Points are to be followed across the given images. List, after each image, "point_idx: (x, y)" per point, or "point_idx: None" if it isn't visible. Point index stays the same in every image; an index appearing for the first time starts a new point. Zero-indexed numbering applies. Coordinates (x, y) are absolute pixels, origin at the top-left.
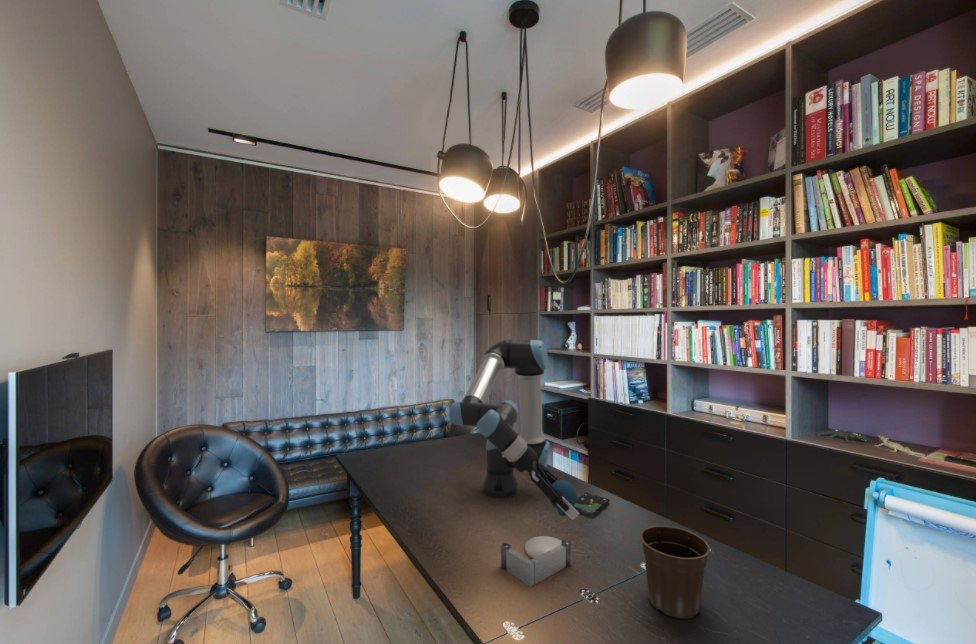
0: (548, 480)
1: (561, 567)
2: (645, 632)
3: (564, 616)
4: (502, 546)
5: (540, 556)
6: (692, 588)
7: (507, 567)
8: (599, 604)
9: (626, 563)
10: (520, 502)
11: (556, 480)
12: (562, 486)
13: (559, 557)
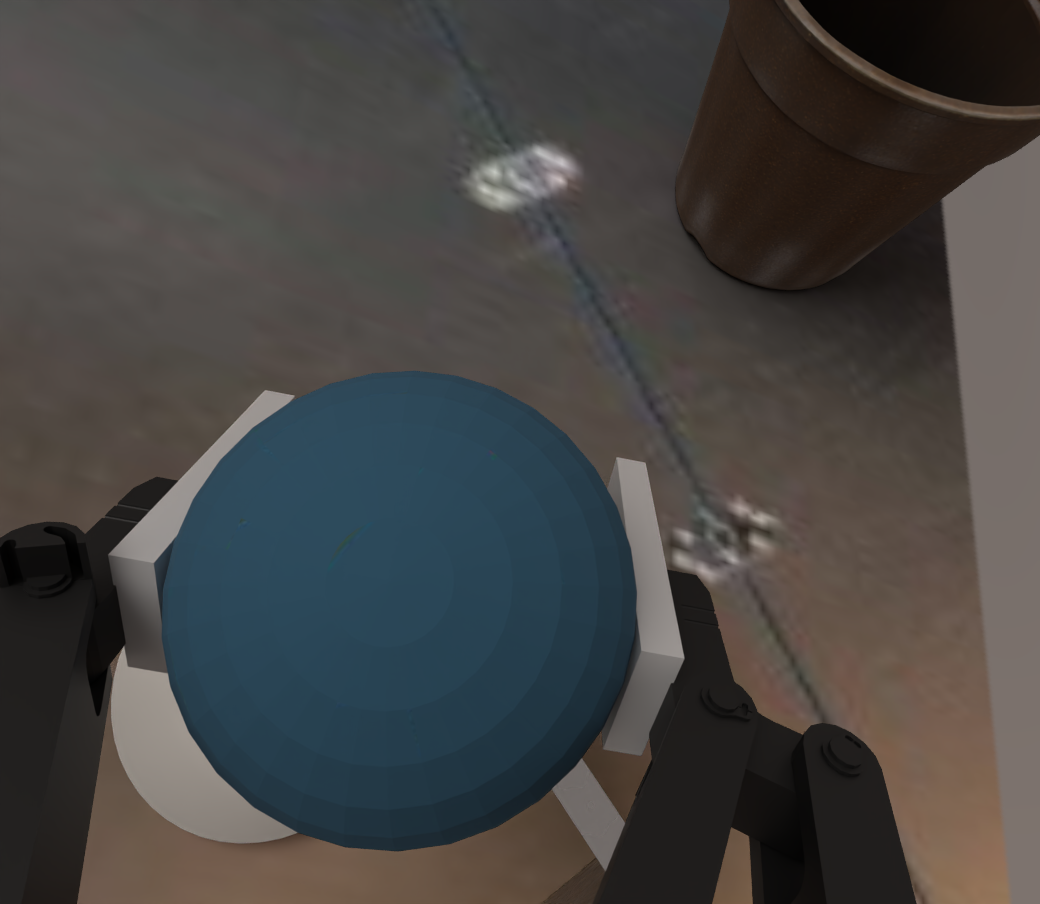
0: (66, 850)
1: None
2: (945, 387)
3: (874, 713)
4: None
5: (587, 818)
6: (964, 90)
7: None
8: (785, 513)
9: (470, 263)
10: None
11: (40, 629)
12: (555, 630)
13: None
